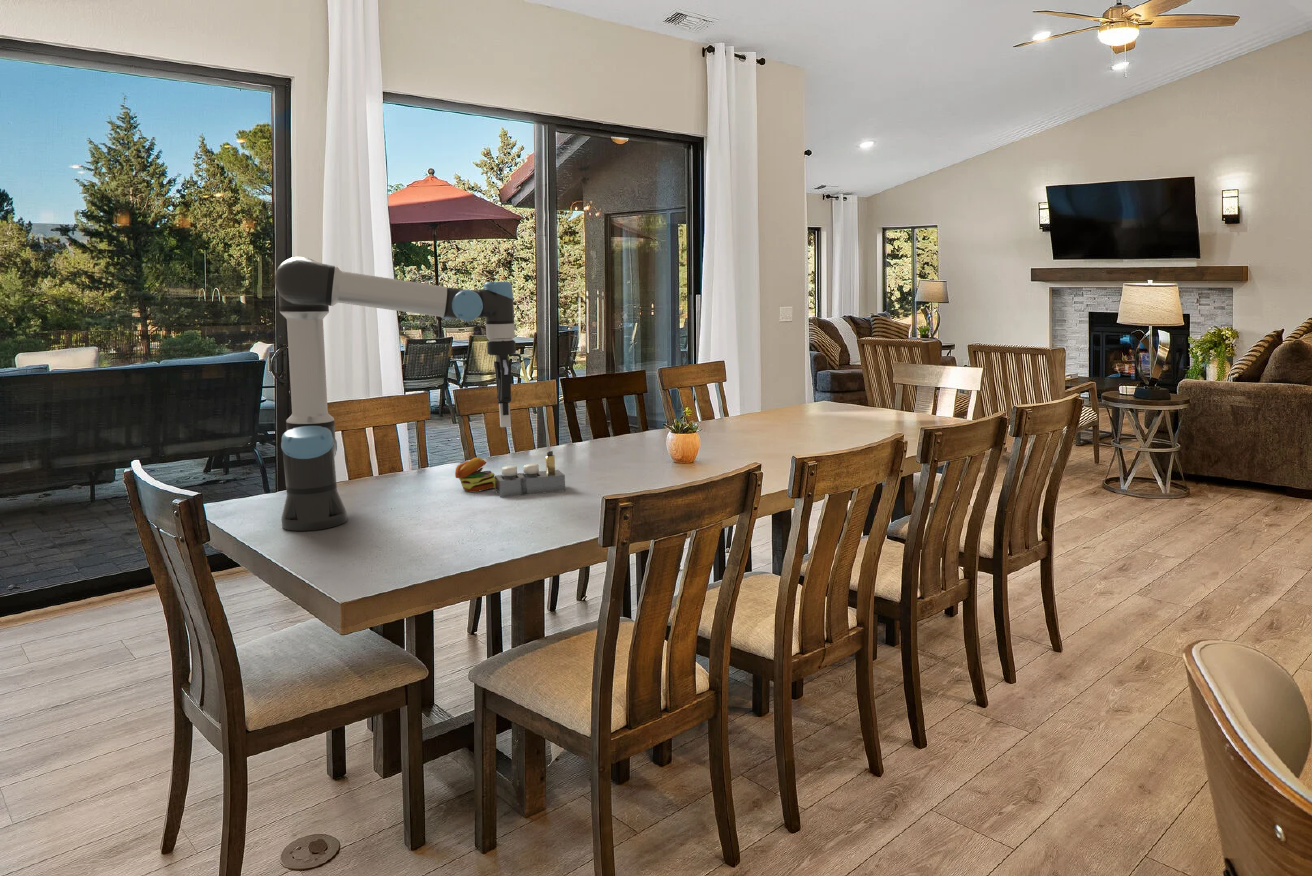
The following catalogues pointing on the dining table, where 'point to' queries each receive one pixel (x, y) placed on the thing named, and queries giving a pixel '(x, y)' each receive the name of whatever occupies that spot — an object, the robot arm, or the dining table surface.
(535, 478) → the mount
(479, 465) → the cheeseburger
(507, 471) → the knob
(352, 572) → the dining table surface
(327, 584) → the dining table surface
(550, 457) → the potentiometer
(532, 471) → the knob
